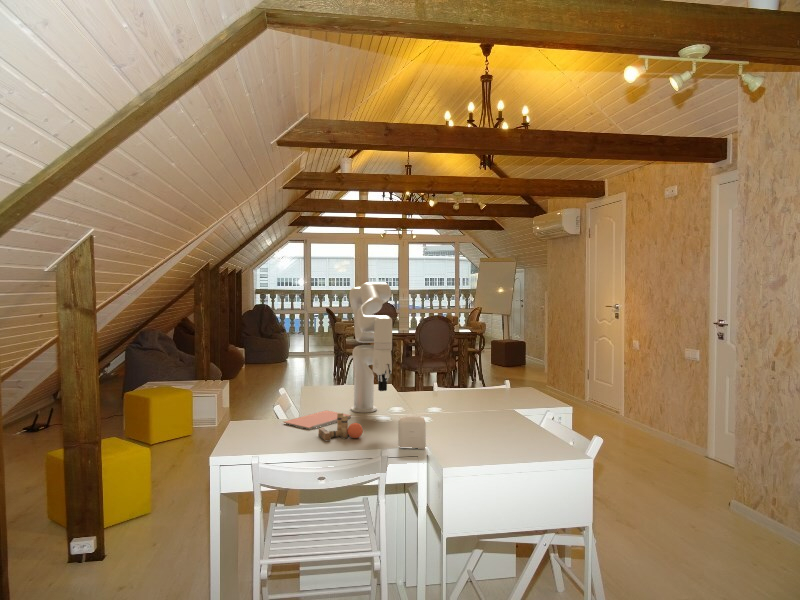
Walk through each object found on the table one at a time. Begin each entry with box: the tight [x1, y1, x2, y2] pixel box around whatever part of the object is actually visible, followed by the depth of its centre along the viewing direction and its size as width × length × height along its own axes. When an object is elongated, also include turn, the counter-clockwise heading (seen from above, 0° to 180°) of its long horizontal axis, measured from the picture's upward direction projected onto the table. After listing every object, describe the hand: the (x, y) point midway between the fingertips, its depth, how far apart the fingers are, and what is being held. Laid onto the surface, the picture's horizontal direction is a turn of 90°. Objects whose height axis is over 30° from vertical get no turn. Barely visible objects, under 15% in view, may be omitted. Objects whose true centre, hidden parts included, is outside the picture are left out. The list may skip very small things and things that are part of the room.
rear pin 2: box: [340, 416, 349, 439], centre depth 213 cm, size 2×2×8 cm
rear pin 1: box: [336, 412, 344, 431], centre depth 217 cm, size 2×2×8 cm
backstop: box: [318, 427, 331, 441], centre depth 212 cm, size 9×2×3 cm, turn 26°
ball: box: [348, 422, 364, 439], centre depth 212 cm, size 6×6×6 cm
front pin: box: [328, 430, 349, 438], centre depth 214 cm, size 2×2×8 cm
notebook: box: [283, 409, 352, 430], centre depth 238 cm, size 27×17×2 cm, turn 144°
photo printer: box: [397, 414, 427, 450], centre depth 200 cm, size 10×4×12 cm, turn 89°
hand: (382, 390), depth 222 cm, fingers closed
